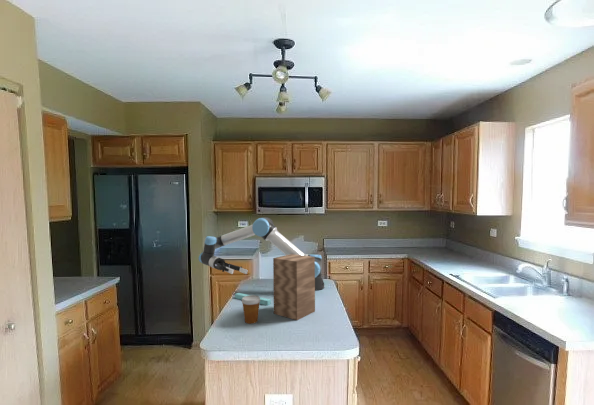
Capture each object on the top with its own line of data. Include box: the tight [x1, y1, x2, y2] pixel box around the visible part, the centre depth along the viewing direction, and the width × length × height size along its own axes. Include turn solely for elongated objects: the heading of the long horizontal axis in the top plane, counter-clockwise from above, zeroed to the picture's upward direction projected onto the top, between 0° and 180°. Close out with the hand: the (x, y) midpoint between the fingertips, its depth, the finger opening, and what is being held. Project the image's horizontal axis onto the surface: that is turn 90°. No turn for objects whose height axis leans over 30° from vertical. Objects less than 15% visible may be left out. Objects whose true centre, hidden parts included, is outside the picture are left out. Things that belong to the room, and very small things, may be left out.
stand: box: [272, 254, 316, 321], centre depth 175 cm, size 16×16×30 cm
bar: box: [234, 292, 272, 306], centre depth 196 cm, size 26×3×3 cm, turn 56°
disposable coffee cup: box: [241, 294, 261, 325], centre depth 163 cm, size 10×10×12 cm
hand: (240, 272), depth 204 cm, fingers open, 13 cm apart
